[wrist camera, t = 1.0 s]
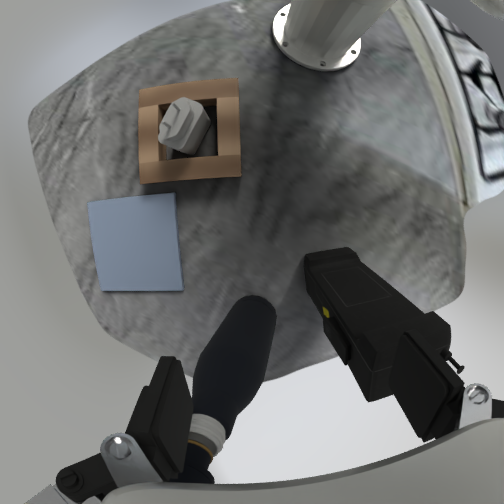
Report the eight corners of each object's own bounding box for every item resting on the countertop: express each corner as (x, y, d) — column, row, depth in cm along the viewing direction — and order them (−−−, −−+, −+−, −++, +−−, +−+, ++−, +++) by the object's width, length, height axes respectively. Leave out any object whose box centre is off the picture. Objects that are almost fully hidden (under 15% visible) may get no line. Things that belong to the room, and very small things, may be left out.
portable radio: (299, 296, 38) (363, 441, 14) (295, 255, 37) (374, 384, 12) (351, 285, 38) (452, 403, 14) (349, 246, 36) (475, 342, 12)
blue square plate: (90, 201, 33) (87, 202, 33) (175, 192, 34) (173, 192, 33) (103, 288, 37) (101, 290, 36) (184, 287, 37) (182, 290, 36)
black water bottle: (265, 288, 37) (178, 482, 8) (283, 328, 38) (244, 536, 8) (223, 304, 38) (91, 469, 9) (242, 342, 39) (156, 525, 10)
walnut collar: (148, 96, 30) (139, 89, 27) (238, 87, 30) (238, 77, 27) (149, 183, 33) (140, 184, 30) (241, 176, 34) (241, 176, 30)
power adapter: (213, 119, 31) (198, 91, 20) (193, 156, 33) (168, 147, 21) (191, 110, 31) (167, 80, 19) (172, 147, 32) (138, 134, 21)
